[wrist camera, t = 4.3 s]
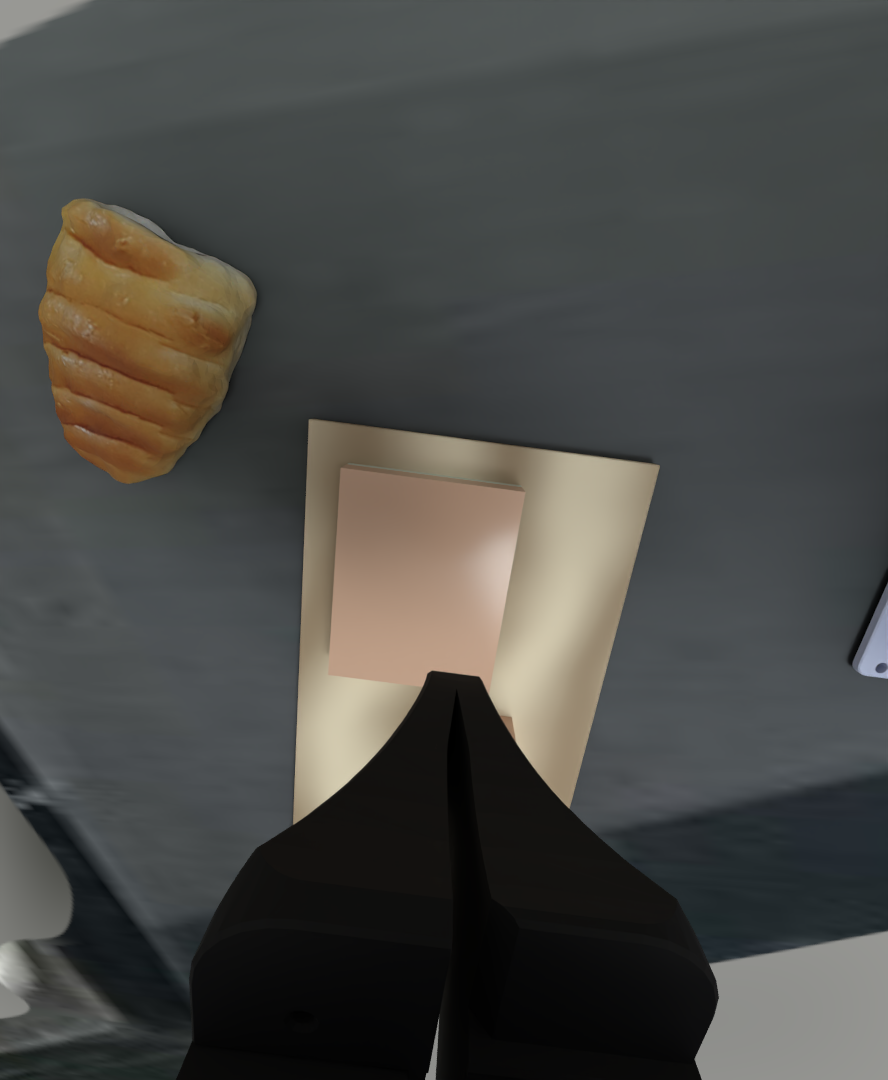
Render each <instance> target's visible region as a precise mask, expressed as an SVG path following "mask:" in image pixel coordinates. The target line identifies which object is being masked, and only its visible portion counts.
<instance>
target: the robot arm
mask: <svg viewBox="0 0 888 1080" xmlns="http://www.w3.org/2000/svg"><path fill="white" fill-rule="evenodd" d="M878 664H879V665H878ZM852 665H853V668H854V669H855V670H856V671H857V672H859V673H860V674H862V675H865V676H872V677H879V678H887V679H888V583H887V585H886V588H885V590H884V592H883V594H882V597H881V599H880V601H879V604H878V606H877V608H876V610H875V613H874V615H873V617H872V619H871V622H870V624H869V626H868V628H867V631H866V633H865V635H864V637H863V640H862V642H861V644H860V646H859V649H858V651H857V653H856V656H855V658H854V660H853V664H852ZM877 665H878V667H876V666H877ZM189 984H190V1003H191V1021H192V1040H193V1041H192V1043H191V1045H190V1048H189V1050H188V1053H187V1055H186V1057H185V1060H184V1062H183V1065H182V1067H181V1069H180V1072H179V1074H178V1077H177V1079H176V1080H425V1077H426V1073H428V1071H429V1066H430V1061H431V1056H432V1050H433V1045H434V1039H435V1035H436V1029H437V1024H438V1019H439V1032H438V1050H437V1051H438V1052H437V1067H436V1080H702V1079H701V1076H700V1074H699V1071H698V1068H697V1065H696V1062H695V1060H694V1059H695V1056H696V1054H697V1052H698V1050H699V1048H700V1046H701V1043H702V1041H703V1039H704V1037H705V1035H706V1033H707V1030H708V1028H709V1026H710V1024H711V1021H712V1020H713V1017H714V1014H715V1010H716V1006H717V1002H718V999H719V996H718V989H717V983H716V979H715V977H714V974H713V972H712V970H711V968H710V965H709V963H708V961H707V958H706V956H705V954H704V952H703V949H702V947H701V945H700V943H699V941H698V939H697V937H696V935H695V932H694V930H693V929H692V927H691V925H690V923H689V921H688V919H687V918H686V916H685V914H684V912H683V910H682V908H681V906H680V904H679V902H678V901H677V899H676V898H674V897H673V896H672V895H670V894H669V893H668V892H666V891H665V890H664V889H662V888H661V887H660V886H658V885H657V884H656V883H655V882H653V881H652V880H651V879H649V878H648V877H647V876H645V875H644V874H643V873H641V872H640V871H639V870H637V869H636V868H635V867H633V866H632V865H631V864H629V863H628V862H627V861H626V860H624V859H623V858H622V857H621V856H620V855H619V854H617V853H616V852H615V851H614V850H613V849H612V848H611V847H609V846H608V845H607V844H606V843H605V842H604V841H602V840H601V839H600V838H599V837H598V836H597V835H596V834H595V833H594V832H593V831H591V830H590V829H589V828H588V827H587V826H586V825H585V824H584V823H583V822H582V821H581V820H580V819H579V818H578V817H577V816H576V815H575V814H574V813H573V812H572V811H571V810H570V809H569V808H568V807H567V806H566V805H565V804H564V803H563V802H562V801H561V800H560V798H559V797H558V796H557V795H556V794H555V793H554V792H553V791H552V790H551V788H550V787H549V786H548V785H547V784H546V782H545V781H544V780H543V779H542V778H541V776H540V775H539V774H538V773H537V771H536V770H535V769H534V767H533V766H532V765H531V763H530V762H529V761H528V759H527V758H526V756H525V755H524V753H523V752H522V751H521V749H520V748H519V746H518V745H517V743H516V742H515V740H514V738H513V737H512V735H511V734H510V732H509V730H508V729H507V727H506V725H505V724H504V722H503V720H502V719H501V717H500V715H499V713H498V712H497V710H496V708H495V706H494V704H493V702H492V700H491V698H490V696H489V694H488V692H487V690H486V688H485V686H484V683H483V681H482V680H481V678H480V677H479V676H471V675H463V674H456V673H448V672H440V671H433V670H432V671H430V672H429V673H427V677H426V680H425V683H424V685H423V687H422V689H421V691H420V693H419V695H418V697H417V699H416V701H415V702H414V704H413V705H412V707H411V709H410V710H409V712H408V713H407V715H406V716H405V718H404V719H403V721H402V722H401V724H400V725H399V726H398V727H397V729H396V730H395V731H394V733H393V734H392V735H391V737H390V738H389V739H388V741H387V742H386V743H385V744H384V745H383V747H382V748H381V749H380V750H379V751H378V752H377V754H376V755H375V756H374V757H373V758H372V759H371V760H370V761H369V762H368V763H367V764H366V765H365V766H364V767H363V768H362V769H361V770H360V771H359V772H358V773H357V774H356V775H355V776H354V777H353V778H352V779H351V780H350V781H349V782H348V783H346V784H345V785H344V786H343V787H342V788H341V789H340V790H338V791H337V792H336V793H335V794H334V795H332V796H331V797H330V798H329V799H327V800H326V801H325V802H323V803H322V804H321V805H320V806H318V807H317V808H316V809H314V810H313V811H312V812H311V813H309V814H308V815H307V816H305V817H304V818H303V819H301V820H300V821H298V822H297V823H295V824H294V825H292V826H291V827H289V828H288V829H286V830H284V831H283V832H281V833H280V834H278V835H277V836H275V837H274V838H272V839H270V840H269V841H267V842H266V843H264V844H263V845H261V846H259V847H258V848H256V849H255V851H254V852H253V853H252V855H251V856H250V858H249V859H248V860H247V862H246V863H245V865H244V866H243V868H242V869H241V870H240V872H239V874H238V875H237V877H236V878H235V880H234V881H233V883H232V884H231V886H230V888H229V889H228V891H227V893H226V894H225V896H224V898H223V899H222V901H221V903H220V904H219V906H218V908H217V910H216V912H215V914H214V916H213V918H212V920H211V922H210V924H209V926H208V928H207V930H206V932H205V934H204V937H203V939H202V941H201V943H200V945H199V947H198V949H197V951H196V953H195V956H194V958H193V960H192V963H191V970H190V977H189ZM439 1014H440V1015H439Z"/></svg>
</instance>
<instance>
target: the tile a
mask: <svg viewBox="0 0 888 1080" xmlns="http://www.w3.org/2000/svg"><path fill="white" fill-rule="evenodd" d="M525 493H526V492H525V491H524V489H523V488H522V486H521V485H514V484H506V483H498V482H491V481H483V480H476V479H468V478H460V477H453V476H445V475H438V474H430V473H422V472H415V471H407V470H399V469H392V468H384V467H377V466H369V465H361V464H354V463H348V464H346V465H345V466H343V467H341V470H340V486H339V503H338V519H337V536H336V552H335V569H334V585H333V602H332V618H331V635H330V651H329V668H328V675H333V676H340V677H348V678H356V679H364V680H372V681H380V682H388V683H395V684H403V685H411V686H419V687H423V685H424V683H425V680H426V677H427V673H429V672H430V671H432V670H433V671H440V672H448V673H456V674H463V675H471V676H479V677H480V678H481V680H482V681H483V683H484V686H485V688H486V690H487V692H488V694H489V691H490V685H491V680H492V674H493V669H494V663H495V658H496V652H497V647H498V641H499V636H500V630H501V625H502V619H503V614H504V608H505V603H506V597H507V592H508V586H509V581H510V575H511V570H512V564H513V559H514V553H515V548H516V542H517V537H518V531H519V526H520V520H521V515H522V509H523V504H524V498H525Z"/></svg>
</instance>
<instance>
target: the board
mask: <svg viewBox="0 0 888 1080" xmlns="http://www.w3.org/2000/svg"><path fill="white" fill-rule="evenodd" d="M348 463H354V464H361V465H369V466H377V467H384V468H392V469H399V470H407V471H415V472H422V473H430V474H438V475H445V476H453V477H460V478H468V479H476V480H483V481H491V482H498V483H506V484H514V485H521V486H522V488H523V489H524V491H525V492H526V493H525V498H524V504H523V509H522V515H521V520H520V526H519V531H518V537H517V542H516V548H515V553H514V559H513V564H512V570H511V575H510V581H509V586H508V592H507V597H506V603H505V608H504V614H503V619H502V625H501V630H500V636H499V641H498V647H497V652H496V658H495V663H494V669H493V674H492V680H491V685H490V691H489V696H490V698H491V700H492V702H493V704H494V706H495V708H496V710H497V712H498V713H499V715H500V716H507V717H512V721H513V727H514V733H515V739H516V743H517V745H518V746H519V748H520V749H521V751H522V752H523V753H524V755H525V756H526V758H527V759H528V761H529V762H530V763H531V765H532V766H533V767H534V769H535V770H536V771H537V773H538V774H539V775H540V776H541V778H542V779H543V780H544V781H545V782H546V784H547V785H548V786H549V787H550V788H551V790H552V791H553V792H554V793H555V794H556V795H557V796H558V797H559V798H560V800H561V801H562V802H563V803H564V804H565V805H566V806H567V807H568V808H570V805H571V801H572V797H573V793H574V790H575V786H576V782H577V778H578V774H579V771H580V767H581V763H582V759H583V755H584V752H585V748H586V744H587V740H588V737H589V733H590V729H591V725H592V721H593V718H594V714H595V710H596V706H597V702H598V699H599V695H600V691H601V687H602V684H603V680H604V676H605V672H606V668H607V665H608V661H609V657H610V653H611V649H612V646H613V642H614V638H615V634H616V631H617V627H618V623H619V619H620V615H621V612H622V608H623V604H624V600H625V596H626V593H627V589H628V585H629V581H630V578H631V574H632V570H633V566H634V562H635V559H636V555H637V551H638V547H639V543H640V540H641V536H642V532H643V528H644V525H645V521H646V517H647V513H648V509H649V506H650V502H651V498H652V494H653V490H654V487H655V483H656V479H657V475H658V472H659V468H660V465H656V464H653V463H645V462H638V461H630V460H622V459H615V458H607V457H600V456H592V455H585V454H577V453H569V452H562V451H554V450H547V449H539V448H532V447H524V446H516V445H509V444H501V443H494V442H486V441H479V440H471V439H463V438H456V437H448V436H441V435H433V434H425V433H418V432H410V431H403V430H395V429H388V428H380V427H372V426H365V425H357V424H350V423H342V422H335V421H327V420H319V419H309V431H308V457H307V482H306V508H305V534H304V559H303V585H302V610H301V636H300V661H299V687H298V712H297V738H296V763H295V789H294V814H293V825H294V824H295V823H297V822H298V821H300V820H301V819H303V818H304V817H305V816H307V815H308V814H309V813H311V812H312V811H313V810H314V809H316V808H317V807H318V806H320V805H321V804H322V803H323V802H325V801H326V800H327V799H329V798H330V797H331V796H332V795H334V794H335V793H336V792H337V791H338V790H340V789H341V788H342V787H343V786H344V785H345V784H346V783H348V782H349V781H350V780H351V779H352V778H353V777H354V776H355V775H356V774H357V773H358V772H359V771H360V770H361V769H362V768H363V767H364V766H365V765H366V764H367V763H368V762H369V761H370V760H371V759H372V758H373V757H374V756H375V755H376V754H377V752H378V751H379V750H380V749H381V748H382V747H383V745H384V744H385V743H386V742H387V741H388V739H389V738H390V737H391V735H392V734H393V733H394V731H395V730H396V729H397V727H398V726H399V725H400V724H401V722H402V721H403V719H404V718H405V716H406V715H407V713H408V712H409V710H410V709H411V707H412V705H413V704H414V702H415V701H416V699H417V697H418V695H419V693H420V691H421V689H422V687H419V686H411V685H403V684H395V683H388V682H380V681H372V680H364V679H356V678H348V677H340V676H333V675H328V668H329V651H330V635H331V618H332V602H333V585H334V569H335V552H336V536H337V519H338V503H339V486H340V470H341V467H343V466H345V465H346V464H348Z"/></svg>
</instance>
